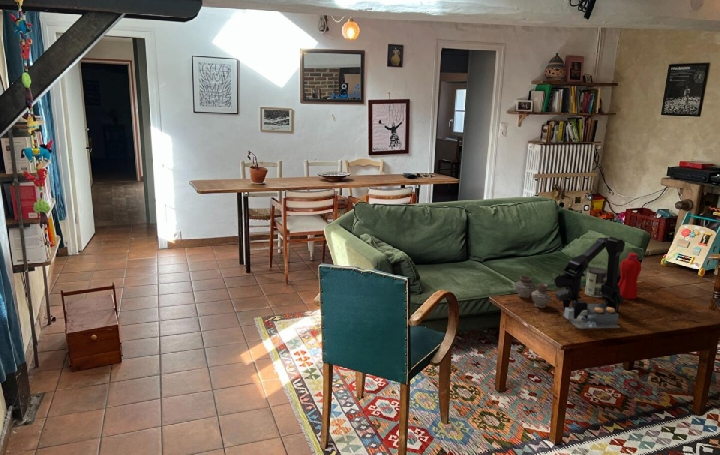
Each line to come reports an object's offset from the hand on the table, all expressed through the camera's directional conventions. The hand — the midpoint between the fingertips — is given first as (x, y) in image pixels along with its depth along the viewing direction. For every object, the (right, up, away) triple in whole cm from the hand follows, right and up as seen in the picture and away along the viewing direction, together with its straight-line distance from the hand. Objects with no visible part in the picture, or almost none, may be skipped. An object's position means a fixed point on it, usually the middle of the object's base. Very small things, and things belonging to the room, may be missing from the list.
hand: (570, 314), depth 262 cm
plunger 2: (+17, +1, -5) cm, 18 cm away
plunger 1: (+11, +1, -6) cm, 13 cm away
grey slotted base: (+10, -3, -1) cm, 10 cm away
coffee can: (+27, +6, +35) cm, 45 cm away
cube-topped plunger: (+8, -1, +1) cm, 8 cm away
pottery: (-11, +4, +24) cm, 27 cm away
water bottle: (+43, +5, +32) cm, 54 cm away
